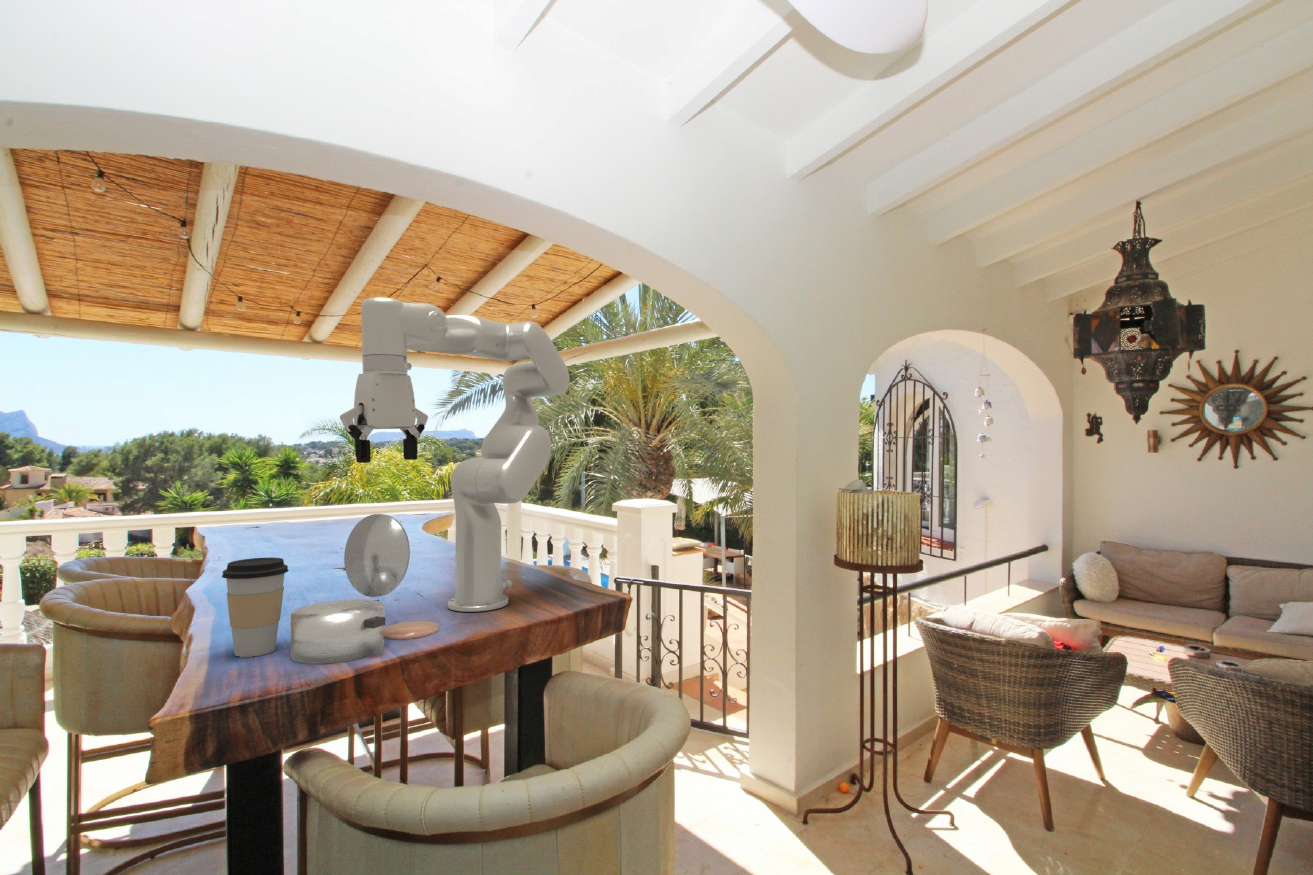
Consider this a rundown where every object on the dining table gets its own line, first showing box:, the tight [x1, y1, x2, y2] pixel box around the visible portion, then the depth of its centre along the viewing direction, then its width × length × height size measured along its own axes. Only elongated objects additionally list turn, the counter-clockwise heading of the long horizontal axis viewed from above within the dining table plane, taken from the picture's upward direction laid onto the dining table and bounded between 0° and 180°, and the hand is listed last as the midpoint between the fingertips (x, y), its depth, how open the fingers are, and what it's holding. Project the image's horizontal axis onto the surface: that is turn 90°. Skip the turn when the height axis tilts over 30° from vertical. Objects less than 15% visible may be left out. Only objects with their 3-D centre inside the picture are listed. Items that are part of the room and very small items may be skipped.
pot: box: [289, 598, 386, 665], centre depth 107 cm, size 14×18×7 cm
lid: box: [343, 513, 411, 598], centre depth 115 cm, size 15×15×2 cm
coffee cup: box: [221, 557, 290, 658], centre depth 106 cm, size 9×9×15 cm
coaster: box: [384, 620, 440, 640], centre depth 118 cm, size 10×10×1 cm
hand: (387, 461), depth 116 cm, fingers open, 9 cm apart
